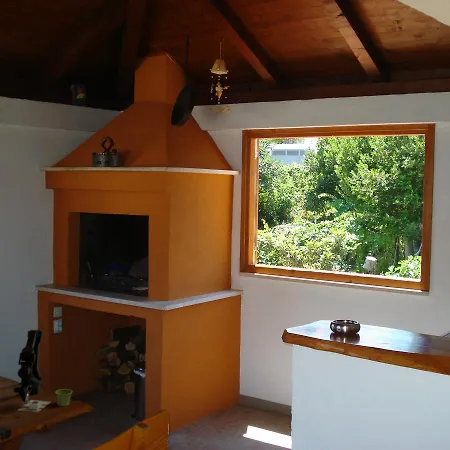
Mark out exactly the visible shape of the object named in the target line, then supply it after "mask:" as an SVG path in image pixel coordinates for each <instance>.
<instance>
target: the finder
mask: <svg viewBox="0 0 450 450" xmlns="http://www.w3.org/2000/svg"><path fill="white" fill-rule="evenodd" d="M38 401H39V400H38ZM38 401H32V402H31V403H30V404H29V409H36V410H38V409H39V408H40V407H41V403H42V402H38Z"/></svg>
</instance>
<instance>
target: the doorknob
mask: <svg viewBox="0 0 450 450" xmlns="http://www.w3.org/2000/svg"><path fill="white" fill-rule="evenodd" d="M27 390H29V389H27ZM28 395H29V391H28V392H27V395H26V400H25V402H23V401H22V405H25V404H28V402H29V398H28ZM29 396H30V395H29Z"/></svg>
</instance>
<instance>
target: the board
mask: <svg viewBox="0 0 450 450" xmlns="http://www.w3.org/2000/svg"><path fill="white" fill-rule="evenodd" d="M32 401H38V402H42V403H41V407H40V408H39V409H38V410H36V409H29V404H30V403H31V402H32ZM49 404H51V401H49V400H48V401H47V400H36V399H35V400H34V399H31V400H28V404H23V405H22V406H21V407H20V408H18V409H17V411H25V412H34V413H39V412H40V411H41V410H43V409H44V408H45V407H46V406H48V405H49Z"/></svg>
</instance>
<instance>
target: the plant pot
mask: <svg viewBox="0 0 450 450" xmlns="http://www.w3.org/2000/svg"><path fill="white" fill-rule="evenodd" d="M72 394H73V390H71V389H68V388H62V389H57V390H56V391H55V395H56V403H57V406H60V407H66V406H69V404H70V400H71V396H72Z"/></svg>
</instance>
